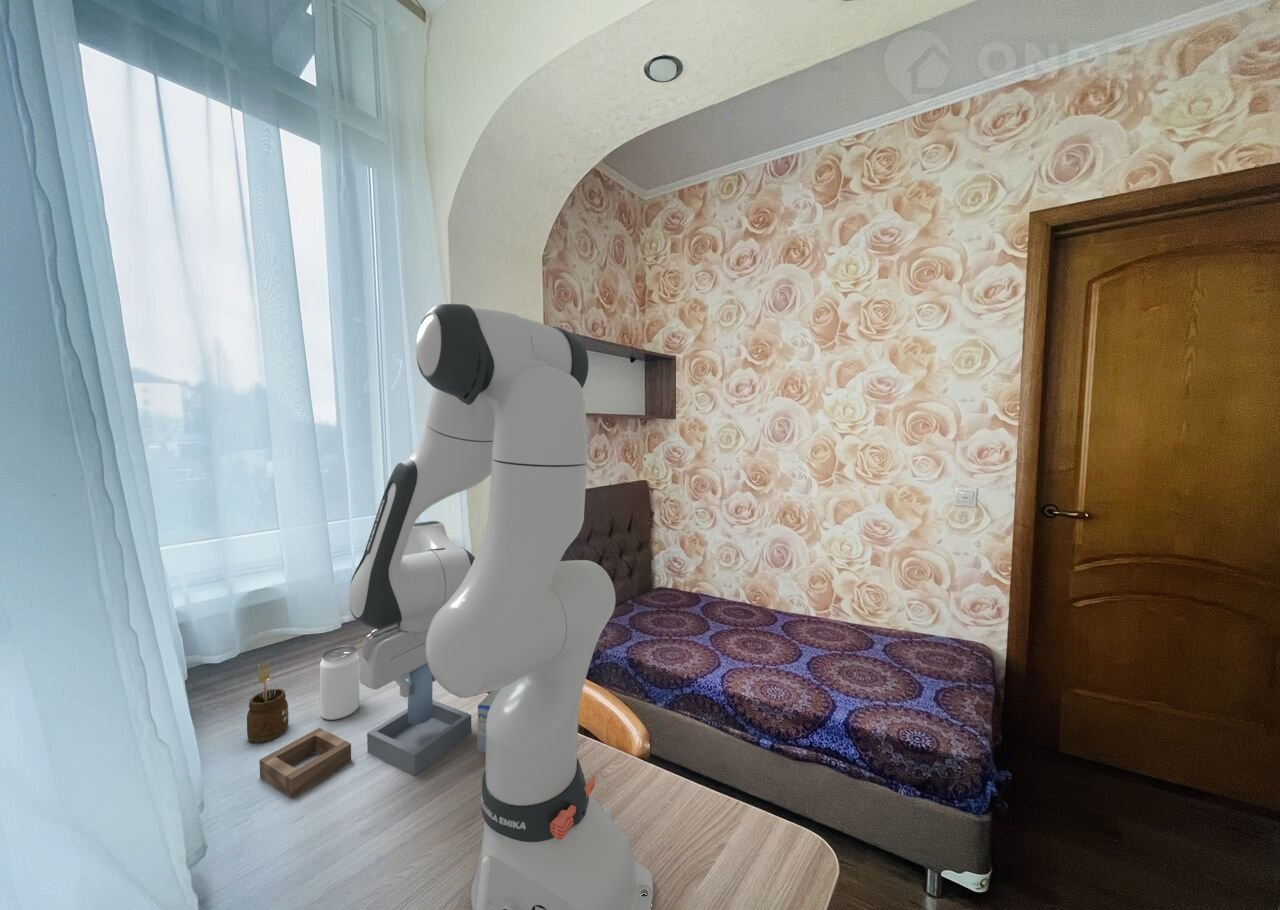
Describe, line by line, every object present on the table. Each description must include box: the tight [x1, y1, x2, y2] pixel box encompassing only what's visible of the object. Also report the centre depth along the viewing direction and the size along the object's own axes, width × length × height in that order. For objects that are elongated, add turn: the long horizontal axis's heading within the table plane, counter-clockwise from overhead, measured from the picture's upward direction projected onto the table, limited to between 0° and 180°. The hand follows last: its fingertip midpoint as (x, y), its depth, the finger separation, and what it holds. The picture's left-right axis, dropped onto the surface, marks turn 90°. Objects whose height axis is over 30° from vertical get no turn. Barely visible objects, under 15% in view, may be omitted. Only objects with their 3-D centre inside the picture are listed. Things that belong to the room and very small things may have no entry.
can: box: [319, 645, 360, 721], centre depth 91 cm, size 6×6×12 cm
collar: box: [259, 727, 352, 799], centre depth 75 cm, size 9×9×3 cm
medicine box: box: [477, 688, 502, 754], centre depth 83 cm, size 8×4×9 cm, turn 168°
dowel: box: [407, 663, 433, 724], centre depth 82 cm, size 4×4×10 cm
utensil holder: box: [246, 661, 289, 743], centre depth 84 cm, size 6×6×12 cm
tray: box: [366, 699, 472, 777], centre depth 82 cm, size 12×12×4 cm
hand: (420, 687), depth 82 cm, fingers closed on dowel, 4 cm apart
